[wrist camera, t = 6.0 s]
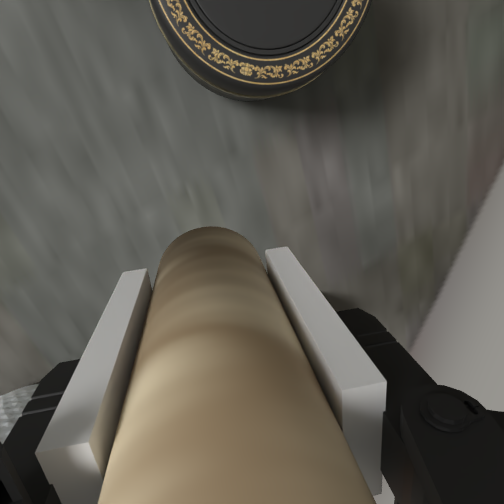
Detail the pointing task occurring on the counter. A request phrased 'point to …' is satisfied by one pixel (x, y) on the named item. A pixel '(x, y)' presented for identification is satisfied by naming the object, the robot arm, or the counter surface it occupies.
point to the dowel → (225, 393)
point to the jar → (258, 41)
